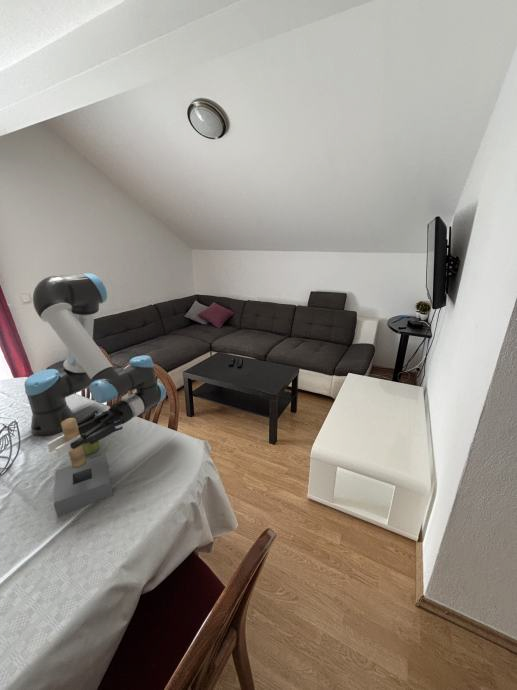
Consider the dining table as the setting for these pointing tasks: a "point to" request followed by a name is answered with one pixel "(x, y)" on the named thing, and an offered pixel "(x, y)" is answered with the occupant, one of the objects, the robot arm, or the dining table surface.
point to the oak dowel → (69, 433)
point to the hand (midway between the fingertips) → (53, 450)
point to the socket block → (81, 485)
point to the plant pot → (90, 446)
